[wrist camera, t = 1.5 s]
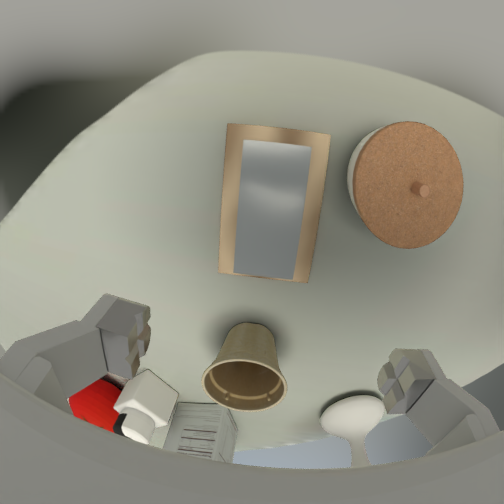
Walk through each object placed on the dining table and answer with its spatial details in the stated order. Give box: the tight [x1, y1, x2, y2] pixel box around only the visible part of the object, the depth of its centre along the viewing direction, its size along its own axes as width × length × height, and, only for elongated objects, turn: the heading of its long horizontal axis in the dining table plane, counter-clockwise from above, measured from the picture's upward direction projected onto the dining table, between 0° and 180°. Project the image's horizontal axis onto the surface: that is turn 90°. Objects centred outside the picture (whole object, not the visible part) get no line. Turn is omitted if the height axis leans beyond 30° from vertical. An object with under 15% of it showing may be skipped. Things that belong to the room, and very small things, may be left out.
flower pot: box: [201, 323, 287, 412], centre depth 32 cm, size 9×9×9 cm
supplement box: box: [163, 402, 238, 463], centre depth 37 cm, size 10×9×17 cm
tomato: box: [69, 379, 122, 433], centre depth 41 cm, size 14×13×10 cm
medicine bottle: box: [113, 370, 179, 445], centre depth 37 cm, size 7×7×12 cm
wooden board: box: [218, 124, 331, 283], centre depth 28 cm, size 10×16×1 cm, turn 175°
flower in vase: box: [320, 395, 385, 467], centre depth 29 cm, size 13×11×25 cm
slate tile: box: [233, 140, 312, 280], centre depth 27 cm, size 6×13×2 cm, turn 175°
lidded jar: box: [347, 121, 463, 249], centre depth 22 cm, size 11×11×9 cm
